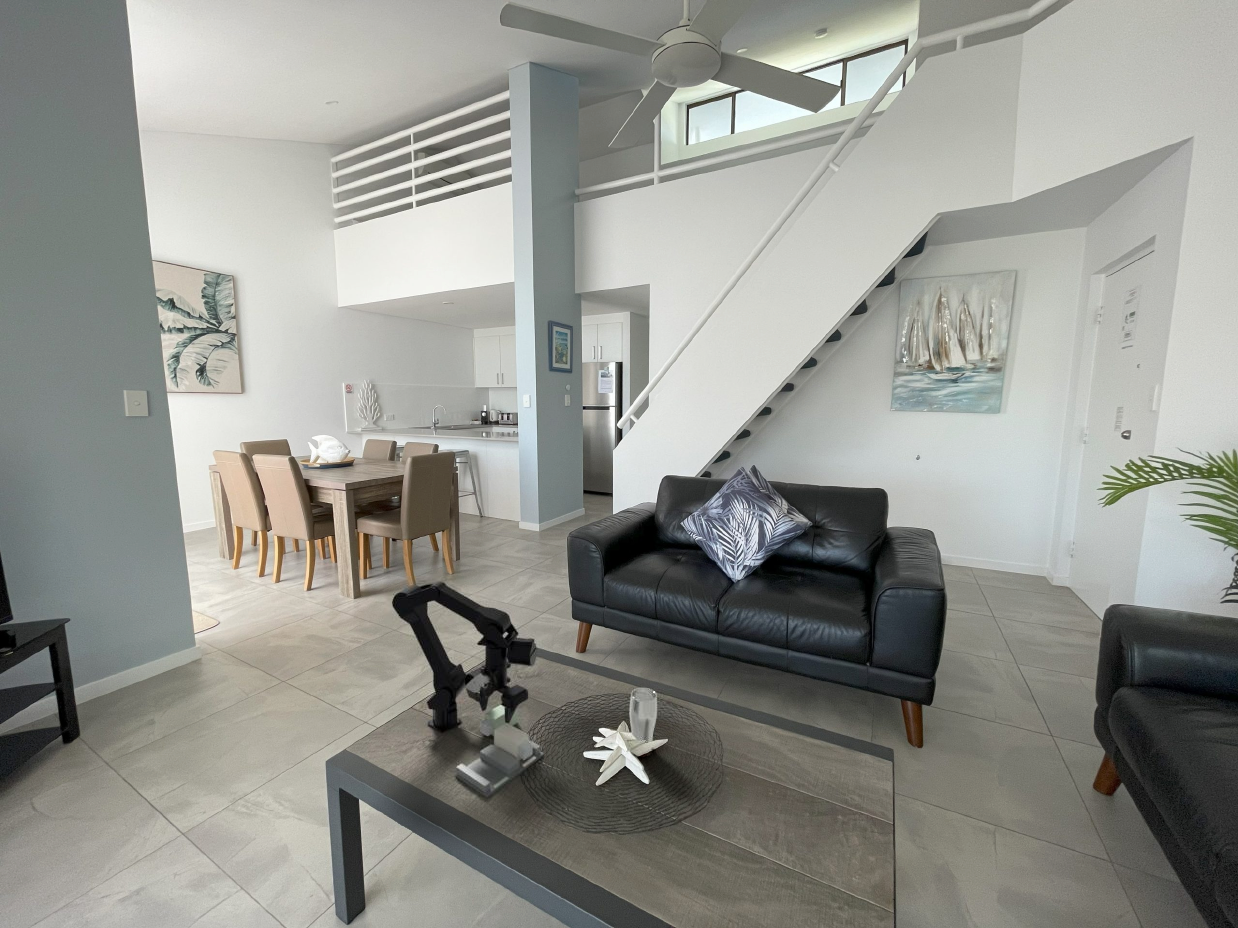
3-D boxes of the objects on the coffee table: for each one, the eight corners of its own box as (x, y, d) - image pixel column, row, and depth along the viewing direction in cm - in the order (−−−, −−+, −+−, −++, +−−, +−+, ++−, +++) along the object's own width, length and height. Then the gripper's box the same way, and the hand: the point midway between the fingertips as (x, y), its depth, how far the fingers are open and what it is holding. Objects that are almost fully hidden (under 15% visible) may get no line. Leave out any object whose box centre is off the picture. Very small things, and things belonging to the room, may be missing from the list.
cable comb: (455, 776, 122) (455, 767, 121) (512, 737, 136) (513, 729, 136) (486, 797, 115) (487, 788, 115) (543, 755, 130) (543, 746, 130)
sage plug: (507, 717, 145) (507, 700, 145) (517, 722, 143) (517, 705, 142) (478, 734, 137) (478, 717, 137) (489, 740, 135) (489, 722, 134)
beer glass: (653, 760, 129) (655, 703, 128) (625, 756, 131) (627, 699, 129) (656, 743, 136) (659, 689, 135) (630, 739, 137) (632, 685, 136)
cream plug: (494, 748, 131) (494, 729, 130) (506, 740, 134) (506, 722, 134) (522, 765, 125) (522, 746, 125) (534, 756, 128) (534, 737, 128)
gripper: (448, 661, 136) (447, 717, 138) (496, 685, 125) (496, 746, 127) (482, 646, 145) (481, 699, 147) (530, 667, 134) (528, 724, 136)
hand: (495, 716), depth 139 cm, fingers open, 9 cm apart
